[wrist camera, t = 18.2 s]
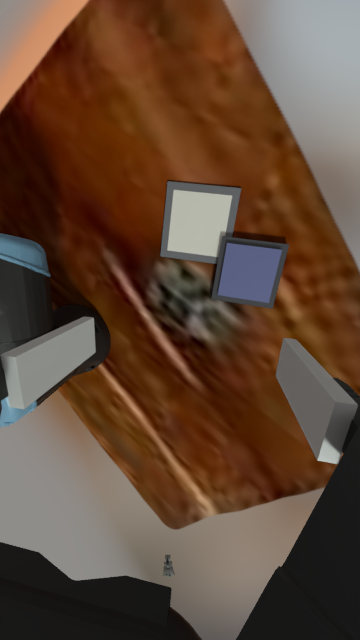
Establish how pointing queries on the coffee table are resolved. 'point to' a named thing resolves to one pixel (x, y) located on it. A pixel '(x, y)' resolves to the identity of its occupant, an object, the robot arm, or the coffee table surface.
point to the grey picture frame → (197, 220)
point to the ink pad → (249, 271)
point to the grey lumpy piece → (168, 567)
